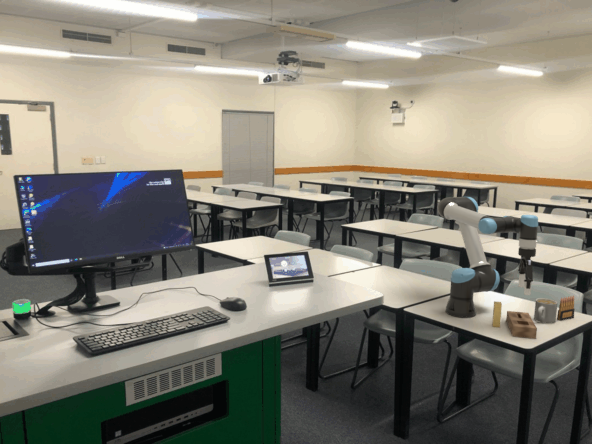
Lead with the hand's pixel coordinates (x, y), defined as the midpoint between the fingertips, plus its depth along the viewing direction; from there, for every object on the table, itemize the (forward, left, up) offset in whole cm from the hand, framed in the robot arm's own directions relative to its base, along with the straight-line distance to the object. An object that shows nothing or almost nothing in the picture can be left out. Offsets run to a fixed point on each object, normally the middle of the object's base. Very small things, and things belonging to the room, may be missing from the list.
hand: (524, 290), depth 240 cm
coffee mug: (+13, +15, -19) cm, 28 cm away
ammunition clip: (+25, +22, -19) cm, 38 cm away
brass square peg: (-11, 0, -19) cm, 22 cm away
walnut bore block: (0, -1, -19) cm, 19 cm away
